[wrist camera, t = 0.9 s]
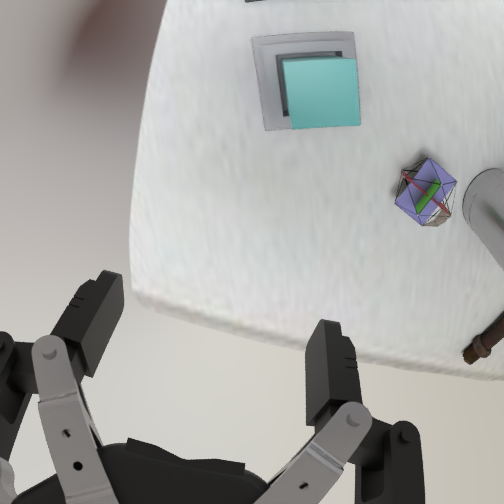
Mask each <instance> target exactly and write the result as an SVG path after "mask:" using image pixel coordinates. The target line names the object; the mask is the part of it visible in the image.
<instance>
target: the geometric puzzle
mask: <svg viewBox="0 0 504 504" xmlns="http://www.w3.org/2000/svg"><path fill="white" fill-rule="evenodd" d="M424 160H425V159H424ZM426 160H427V161H426ZM426 160H425V161H426V162H425V164H424V165H423V166H422V168H421V169H420V170H419V171H415V172H418V173H417V174H416V176H415V177H414V178H411V177H410V176H409V175H408V174H409V173H408V174H406V173H405V172H404V171H411V172H412V171H413V170H414V169H413V170H404V169H403V170H402V172H401V174H402V173H403V177H404V178H403V180H404V179H405V182H407V180H408V181H409V182H411V183H410V184H409V185H408V183H406V185H407V188H406V189H405V191H404V192H403V193H402V195H401V196H400V197H399V198H398V200H397V201H396V199H397V198H396V199H395V203H394V204H396V205H397V206H398V207H399V208H401V209H402V210H403V211H404V212H406V213H407V214H408V215H409V216H411V217H412V218H413V219H414V220H415V221H417V222H418V223H419V224H420V225H421V226H437V227H438V226H439V225H441V224H442V223H444V222H445V221H446V220H447V219H448V218H450V217H451V213H452V212H451V213H450V211H448V210H449V207H448V209H447V208H446V207H445V204H446V203H445V204H444V201H443V199H444V197H445V196H446V195H447V194H448V192H449V191H450V190H451V188H452V187H453V186H455V185H454V184H457V183H456V182H457V181H456V180H455V179H454V178H453V177H452V176H451V175H449V174H448V173H447V172H446V171H445V170H444V169H443V168H441V167H440V166H439V165H438V164H437V163H436V162H434V161H433V160H432V159H431V158H430V157H428V158H426ZM422 161H423V160H422ZM420 162H421V161H420ZM418 163H419V162H418ZM422 163H423V162H422ZM422 163H421V164H422ZM416 164H417V163H416ZM421 164H420V165H421ZM417 167H418V166H417ZM417 167H416V168H417ZM407 168H408V167H407ZM416 168H415V169H416ZM405 169H406V168H405ZM411 172H410V173H411ZM400 179H401V177H400ZM406 179H407V180H406ZM399 183H400V182H399ZM402 183H403V181H402ZM401 185H402V184H401ZM398 188H399V186H398ZM400 188H401V187H400ZM453 188H454V187H453ZM452 190H453V189H452ZM455 190H456V189H455ZM399 191H400V190H399ZM397 192H398V191H397ZM451 192H452V191H451ZM398 194H399V192H398ZM450 194H451V193H450ZM449 196H450V195H449ZM454 196H455V195H454ZM396 197H398V195H396ZM448 198H449V197H448ZM445 199H446V197H445ZM447 200H448V199H447ZM447 200H446V202H447ZM441 201H443V204H444V205H443V204H442V203H441ZM453 202H454V201H453ZM437 206H439V207H440V208H441V209H442V210H441V209H440V210H441V211H440V210H439V211H440V213H439V214H438V216H437V217H436V218H435V220H433V221H431V222H429V223H427V224H425V223H426V222H427V221H428V220H427V219H428V218H429V216H430V215H431V214H432V213H433V211H434V210H435V209H436V208H437ZM447 206H448V204H447ZM452 207H453V206H452ZM436 213H437V212H436ZM436 213H435V214H436ZM435 214H434V215H435ZM434 215H433V216H434ZM433 216H432V217H433ZM432 217H431V218H432ZM431 218H430V219H431ZM426 220H427V221H426ZM425 221H426V222H425ZM424 224H425V225H424Z"/></svg>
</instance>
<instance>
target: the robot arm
mask: <svg viewBox="0 0 504 504" xmlns="http://www.w3.org/2000/svg"><path fill="white" fill-rule="evenodd" d="M463 214H464V217H465V220H466V221H467V223H468V224H469V226H470V227H471V228H472V229H473V231H474V232H475V233H476V234H477V236H478V237H479V238H480V240H481V241H482V242H483V244H484V245H485V246H486V247H487V249H488V250H489V251H490V253H491V254H492V255H493V257H494V258H495V260H496V261H497V262H498V264H499V265H500V267H501V268H502V269H503V271H504V171H502V170H499V169H491V170H487V171H485V172H483V173H481V174H480V175H479V176H477V177H476V178H475V179H474V181H473V182H472V183H471V185H470V186H469V188H468V190H467V192H466V194H465V198H464V201H463ZM123 293H124V292H123V280H122V275H121V274H118V273H114V272H111V271H107V270H103V271H102V272H101V274H100V275H99V277H98V278H97V280H96V281H94V280H91V279H90V280H88V281H87V282H85V283H84V284H83V285H81V286H80V287H79V289H78V290H77V292H76V294H75V295H74V298H72V299H71V301H70V303H69V305H68V306H67V307H66V309H65V311H64V313H63V314H62V316H61V317H60V319H59V321H58V322H57V324H56V326H55V327H54V329H53V331H52V332H51V334H50V335H46V336H43V337H41V338H39V339H38V340H37V341H36V342H35V343H26V342H14V340H13V338H12V337H11V335H9V334H8V333H6V332H2V331H0V504H318V503H319V502H320V501H321V500H322V498H323V497H324V496H325V495H326V494H327V492H328V491H329V490H330V489H331V487H332V486H333V485H334V484H335V482H336V481H337V480H338V479H339V477H340V476H341V474H342V473H343V471H344V469H343V466H344V465H345V464H346V462H349V463H352V464H355V504H425V486H424V472H423V460H422V450H421V441H420V434H419V432H418V429H417V428H416V427H415V426H414V425H413V424H412V423H410V422H408V421H398V422H397V423H395V424H394V425H391V424H388V423H385V422H383V421H380V420H377V419H375V418H373V417H372V416H371V413H370V412H369V410H368V409H367V408H366V407H365V406H364V405H363V403H362V396H361V388H360V381H359V373H358V370H357V368H358V366H357V361H356V352H355V347H354V345H353V344H352V342H351V340H350V338H349V337H346V336H342V332H341V325H340V323H339V322H335V321H329V320H324V319H321V320H320V321H319V323H318V325H317V326H316V328H315V330H314V332H313V334H312V336H311V338H310V339H309V341H308V344H307V347H306V352H305V371H306V425H307V426H315V434H314V435H313V436H312V437H311V438H310V439H309V440H308V441H307V442H306V444H305V445H304V446H303V447H302V448H301V449H300V450H299V451H298V452H297V454H296V455H295V456H294V457H293V458H292V459H291V460H290V461H289V462H288V463H287V464H286V465H285V466H284V467H283V468H282V469H281V470H280V471H279V472H278V473H277V474H276V475H275V476H274V477H273V478H271V479H270V481H269V482H267V483H266V482H265V481H264V480H262V478H260V477H259V476H257V475H255V474H254V473H252V472H250V471H248V470H245V463H240V462H233V461H227V460H221V459H196V460H186V459H182V458H180V457H178V456H176V455H174V454H172V453H170V452H168V451H166V450H164V449H162V448H160V447H158V446H156V445H153V444H149V443H145V442H142V441H138V440H135V439H132V438H128V440H127V443H115V444H109V445H106V446H103V443H102V441H101V438H100V436H99V433H98V431H97V429H96V427H95V424H94V422H93V419H92V416H91V413H90V411H89V407H88V405H87V401H86V398H85V395H84V392H83V389H82V385H81V381H82V379H83V377H84V375H86V376H89V377H92V378H93V376H94V373H95V371H96V369H97V367H98V364H99V362H100V360H101V358H102V355H103V353H104V351H105V349H106V346H107V344H108V342H109V340H110V338H111V336H112V333H113V331H114V329H115V327H116V325H117V323H118V321H119V319H120V317H121V314H122V312H123V307H124V294H123ZM32 394H39V397H40V402H38V409H39V414H40V418H41V422H42V426H43V430H44V434H45V437H46V441H47V444H48V448H49V451H50V454H51V457H52V460H53V463H54V466H55V469H56V472H57V473H56V474H54V475H53V476H51V477H49V478H47V479H46V480H44V481H42V482H40V483H38V484H37V485H35V486H33V487H31V488H29V489H28V490H26V491H24V492H22V493H20V494H19V495H18V496H17V494H16V492H15V489H14V471H13V468H12V466H11V465H10V464H9V462H8V461H9V458H10V454H11V451H12V448H13V445H14V442H15V439H16V436H17V433H18V431H19V428H20V425H21V422H22V419H23V416H24V414H25V411H26V409H27V406H28V404H29V401H30V398H31V396H32Z"/></svg>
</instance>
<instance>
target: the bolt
mask: <svg viewBox="0 0 504 504" xmlns="http://www.w3.org/2000/svg"><path fill="white" fill-rule="evenodd" d="M502 338H504V317H503V318H502V319H501V320H500V321H499V322H498V323H497V324H496V325H495V326H493V327H492V328H491V330H489V331H488V332H487V333H486V334H485V335H484V336H482V335H478V336H477V337H476V338H475V339H474V340H473V345H472V346H471V347H470V348H469V349H467V350H466V351H465V352H464V353H463V357H464V361H465V362H466V363H468V364H469V365H471V364H473V363H474V362H475V361H476V360H478V359H479V358H480V357H482V358H487V357H488V356H489V355H490V354H491V348H492V347H493V346H494V345H495V344H497V343H498V342H499V341H500V340H501V339H502Z"/></svg>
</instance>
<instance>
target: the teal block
mask: <svg viewBox="0 0 504 504" xmlns="http://www.w3.org/2000/svg"><path fill="white" fill-rule="evenodd" d="M281 65H282V72H283V80H284V87H285V95H286V103H287V109H288V113H289V118H290V122H291V127H292V129H304V128H318V127H336V126H360V114H359V96H358V81H357V68H356V59H352V58H346V57H339V56H332V55H328V56H307V57H292V58H281Z"/></svg>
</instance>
